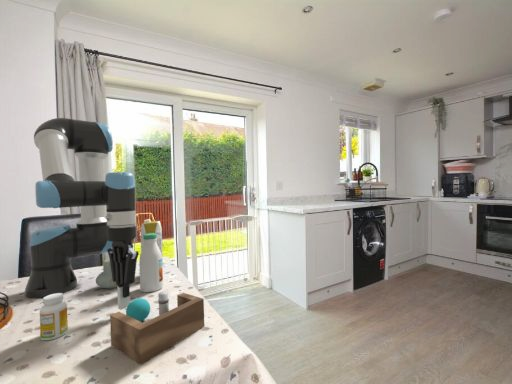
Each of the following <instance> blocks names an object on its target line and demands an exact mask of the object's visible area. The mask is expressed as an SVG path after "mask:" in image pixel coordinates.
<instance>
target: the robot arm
mask: <svg viewBox="0 0 512 384" xmlns="http://www.w3.org/2000/svg"><path fill="white" fill-rule="evenodd" d="M33 142H34V144H35V146H36V148H37V149H38V152H39V159H40V160H39V161H40V167H41V175H42V180H41V181H40V180H38V181H37V182H35V188H34V189H35V205H36V206H37V208H41V209H48V208H49V209H58V208H60V209H61V208H76V207H77V208H78V207H80V219H79V220H78V221H76V223H75V224H76V225H75V227H71V226H70V225H69V224H61V225H55V226H50V227H45V228H41V229H37V230H35V231H33V232H32V233H31V234H30V240H29V241H30V243H29V247H30V275H29V277H28V281H27V282H26V286H25V289H24V296H25V297H26V298H30V299H32V298H33V299H37V298H44V297H46V296H48V295H51V294H56V293H63V294H64V293H66V292H70V291H71V290H73V289H75V288H77V286H78V278H77V276H76V274H75V272H74V269H73V267H72V259H76V258H82V257H88V256H94V255H98V256H99V255H102V254H106V253H107V255H108V257H109V258H108V259H110V265H111V272H112V279H113V282H116V285H118V286H117V288H116V289H117V309H118V310H119V311H121V310H124V309H127V307H128V305H129V304H130V303H131V300H130V299H131V298H130V297H131V295H130V292H131V290H130V286H131V285H132V284H134V283H135V279H136V270H137V261H138V257H139V256H140V254H139V251H138V250H136V251H135V250H134V244H133V240H134V239H136V238H137V226H136V225H135V224H136V223H137V215H136V214H137V213H136V212H137V211H136V181H135V175H134V173H131V172H123V171H120V172H119V171H118V172H117V171H115V172H107V173H105V160H106V159H107V158H108V157H109V153H111V152H112V151H113V135H112V132H111V129H110V127H109V126H108V125H107V124H105V123H101V122H96V121H89V120H82V119H81V120H80V119H74V118H73V119H72V118H68V117H67V118H66V117H57V118H51V119H48V120H46V121H45V122H43V123H41V124H40V125H39V126H38V127H37V128H36V130H35V131H34V133H33ZM68 150H73V151H74V152H73V153H74V155H75V156H76V158H78V164H79V167H78V169H79V180H75V175H74V173H73V167H72V163H71V160H70V156H69V152H68Z"/></svg>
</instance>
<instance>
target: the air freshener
mask: <svg viewBox="0 0 512 384" xmlns="http://www.w3.org/2000/svg"><path fill="white" fill-rule="evenodd" d="M102 266H103V267H102V270H103V271H102V272H100V273H99V274H98V275H97V277H96V278H95V284H96V285H97V286H98V287H99V288H102V289H118V288H117V286H118V285H116V282H113V279H112V272H111V265H110V259H109V258H107V259H105V260H104V261H103V262H102Z"/></svg>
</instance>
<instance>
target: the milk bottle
mask: <svg viewBox="0 0 512 384" xmlns="http://www.w3.org/2000/svg"><path fill="white" fill-rule="evenodd" d="M143 239H144V246H143V249H142V251H140V254H139V290H140V291H141V292H142V293H151V292H152V293H153V292H157V291H159V290H161V289H162V288H163V287H164V285H163V284H164V276H163V274H164V273H163V272H164V269H163V267H162V254H163V253H162V254H161V251H160V249H159V247H158V245H157V242H156V240H157V234H156V233H149V234H144V235H143Z"/></svg>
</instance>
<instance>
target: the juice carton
mask: <svg viewBox="0 0 512 384" xmlns="http://www.w3.org/2000/svg"><path fill="white" fill-rule="evenodd" d="M162 229H163V228H162V223H161V221H160V220H153V221H152V220H151V219H150V218H148V219H144V220H143V222H142V223H141V227H140V250H141V251H142V249H143V246H144V239H143V235H144V234H149V233H156V234H157V240H156V242H157V245H158V247H159V249H160V251H161V254H162V268H163V265H164V261H163V260H164V259H163V230H162ZM141 251H140V252H141Z"/></svg>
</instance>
